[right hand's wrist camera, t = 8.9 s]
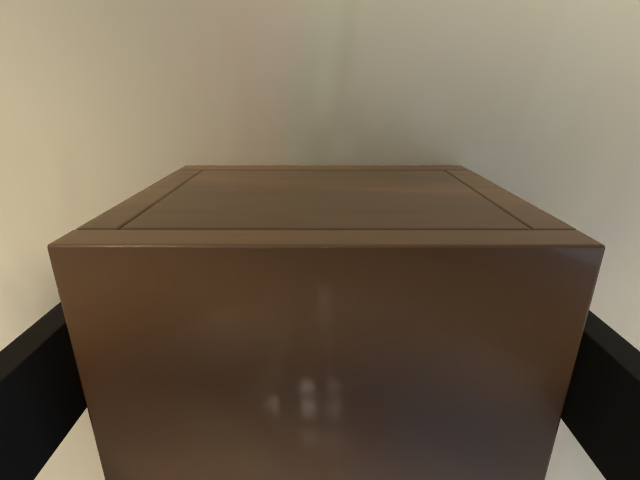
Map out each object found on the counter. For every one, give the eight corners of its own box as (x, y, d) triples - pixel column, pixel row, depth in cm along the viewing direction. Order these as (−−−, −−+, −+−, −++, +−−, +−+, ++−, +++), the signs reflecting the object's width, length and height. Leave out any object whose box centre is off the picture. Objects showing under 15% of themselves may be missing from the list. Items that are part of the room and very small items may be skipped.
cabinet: (420, 515, 22) (474, 751, 14) (224, 514, 22) (171, 749, 14) (462, 165, 16) (607, 244, 8) (183, 165, 16) (44, 244, 8)
